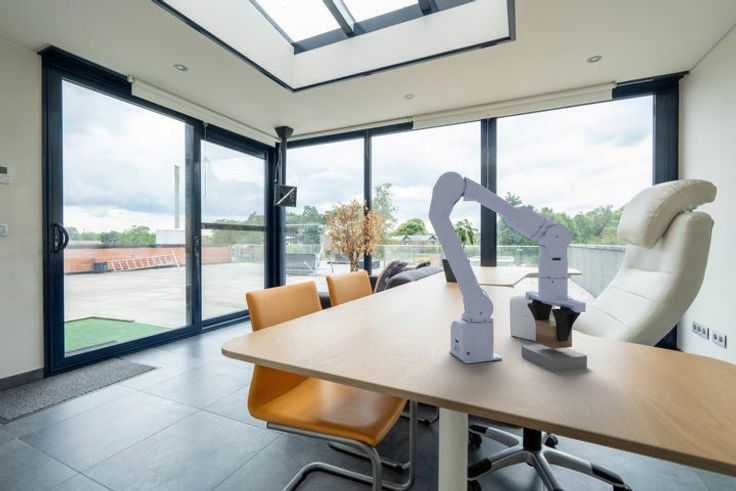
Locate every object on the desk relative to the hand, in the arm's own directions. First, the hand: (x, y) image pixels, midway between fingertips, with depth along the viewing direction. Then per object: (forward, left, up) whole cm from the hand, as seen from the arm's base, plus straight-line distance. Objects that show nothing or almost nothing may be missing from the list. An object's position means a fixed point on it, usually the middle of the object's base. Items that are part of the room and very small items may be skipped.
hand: (552, 337), depth 71 cm
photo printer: (+7, +15, -6) cm, 18 cm away
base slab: (0, 0, -6) cm, 6 cm away
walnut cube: (0, 0, -2) cm, 2 cm away
